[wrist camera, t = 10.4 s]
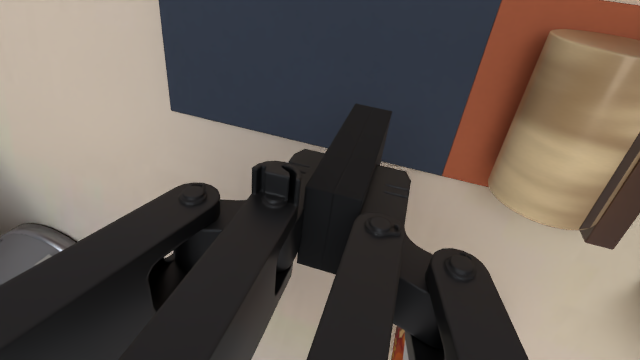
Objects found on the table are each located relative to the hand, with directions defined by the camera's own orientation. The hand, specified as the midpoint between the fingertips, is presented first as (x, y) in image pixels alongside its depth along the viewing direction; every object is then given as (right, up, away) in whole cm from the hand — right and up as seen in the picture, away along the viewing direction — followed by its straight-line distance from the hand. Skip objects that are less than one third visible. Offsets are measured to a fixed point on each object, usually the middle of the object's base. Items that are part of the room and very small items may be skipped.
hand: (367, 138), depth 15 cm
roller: (+10, +1, +3) cm, 11 cm away
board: (+2, +5, +7) cm, 9 cm away
